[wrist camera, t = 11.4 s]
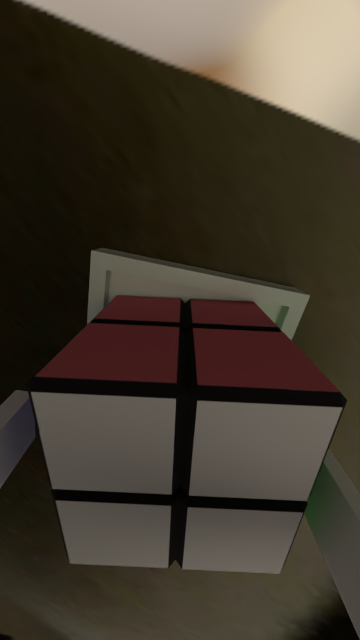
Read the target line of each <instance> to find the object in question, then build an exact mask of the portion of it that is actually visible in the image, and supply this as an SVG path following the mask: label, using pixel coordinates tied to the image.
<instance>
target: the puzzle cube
mask: <svg viewBox="0 0 360 640" xmlns="http://www.w3.org/2000/svg"><path fill="white" fill-rule="evenodd" d="M26 386H27V390H28V394H29V399H30V403H31V407H32V411H33V416H34V420H35V424H36V428H37V433H38V437H39V441H40V445H41V450H42V454H43V458H44V462H45V466H46V471H47V475H48V479H49V482H50V484H51V486H52V490H51V492H52V496H53V500H54V505H55V509H56V513H57V517H58V521H59V526H60V530H61V534H62V538H63V543H64V547H65V551H66V555H67V557H68V560H69V563H70V564H84V565H105V566H127V567H148V568H169V567H170V565H171V564H172V563H173V562H174V560H175V559H176V561H177V562H178V564H179V565H180V567H181V568H182V569H191V570H213V571H234V572H256V573H277V574H280V573H281V571H282V568H283V566H284V564H285V562H286V559H287V556H288V554H289V551H290V549H291V546H292V543H293V541H294V538H295V536H296V533H297V531H298V528H299V525H300V523H301V520H302V518H303V515H304V512H305V510H306V507H307V505H308V503H307V501H308V499H309V497H310V495H311V493H312V490H313V488H314V485H315V482H316V480H317V477H318V475H319V472H320V469H321V467H322V464H323V462H324V459H325V457H326V454H327V451H328V449H329V446H330V444H331V441H332V438H333V436H334V433H335V431H336V428H337V425H338V423H339V420H340V418H341V415H342V412H343V410H344V407H345V405H346V402H347V400H346V398H345V397H344V396H343V395H342V394H341V392H340V391H339V390H338V389H337V388H336V387H335V386H334V385H333V384H332V383H331V382H330V381H329V380H328V379H327V378H326V376H325V375H324V374H323V373H322V372H321V371H320V370H319V369H318V368H317V367H316V366H315V365H314V364H313V363H312V362H311V361H310V360H309V359H308V358H307V357H306V355H305V354H304V353H303V352H302V351H301V350H300V349H299V348H298V347H297V346H296V345H295V344H294V343H293V342H292V341H291V340H290V339H289V338H288V337H287V336H286V334H285V333H284V332H282V331H281V329H280V328H279V327H278V326H277V325H276V324H275V323H274V322H273V321H272V320H271V319H270V318H269V317H268V316H267V315H266V314H265V313H264V312H263V311H262V309H261V308H260V307H259V306H258V305H257V304H256V303H255V302H246V301H224V300H202V299H190V300H188V301H187V302H186V303H185V302H184V301H183V300H182V299H180V298H158V297H136V296H116V297H115V298H114V299H113V300H112V301H111V302H110V303H109V304H108V305H107V306H106V307H105V308H104V309H103V310H102V311H101V312H100V313H99V314H98V315H97V316H96V317H95V318H93V319H92V320H91V321H90V322H89V323H88V324H87V325H86V326H85V327H84V328H83V329H82V330H81V331H80V332H79V333H78V334H77V335H76V336H75V337H74V338H73V339H72V340H71V341H70V342H69V343H68V344H67V345H66V346H65V347H64V348H63V349H62V350H61V351H60V352H58V353H57V354H56V355H55V356H54V357H53V358H52V359H51V360H50V361H49V362H48V363H47V364H46V365H45V366H44V367H43V368H42V369H41V370H40V371H39V372H38V373H37V374H36V375H35V376H34V377H33V378H32V379H31V380H30V381H29V382H28V383H27V384H26Z"/></svg>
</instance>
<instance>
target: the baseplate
mask: <svg viewBox="0 0 360 640" xmlns="http://www.w3.org/2000/svg"><path fill="white" fill-rule="evenodd" d="M116 296H136V297H158V298H180V299H182V300H183V301H184V302H185V303H186V302H187V301H188V300H190V299H202V300H224V301H246V302H255V303H256V304H257V305H258V306H259V307H260V308H261V309H262V311H263V312H264V313H265V314H266V315H267V316H268V317H269V318H270V319H271V320H272V321H273V322H274V323H275V324H276V325H277V326H278V327H279V328H280V329H281V331H282V332H284V333H285V334H286V336H287V337H288V338H289V339H290V340H292V338H293V335H294V333H295V331H296V328H297V326H298V323H299V321H300V319H301V316H302V314H303V311H304V309H305V307H306V304H307V302H308V300H309V297H310V295H308V294H306V293H304V292H303V291H301V290H299V289H297V288H295V287H290V286H285V285H280V284H276V283H271V282H266V281H261V280H256V279H251V278H247V277H242V276H237V275H232V274H227V273H223V272H218V271H213V270H208V269H203V268H198V267H194V266H189V265H184V264H179V263H174V262H169V261H165V260H160V259H155V258H150V257H145V256H140V255H136V254H131V253H126V252H121V251H116V250H111V249H107V248H100V249H95V250H91V264H90V281H89V298H88V315H87V324H88V323H89V322H90V321H91V320H92V319H93V318H95V317H96V316H97V315H98V314H99V313H100V312H101V311H102V310H103V309H104V308H105V307H106V306H107V305H108V304H109V303H110V302H111V301H112V300H113V299H114V298H115V297H116Z"/></svg>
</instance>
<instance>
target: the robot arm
mask: <svg viewBox="0 0 360 640" xmlns="http://www.w3.org/2000/svg"><path fill="white" fill-rule="evenodd" d="M34 438H35V420H34V416H33V411H32V407H31V403H30V399H29V394H28V392H26V391H20V390H16V391H15V392H14V393H13V394H12V395H11V396H9V397H8V398H7V399H6V400H5V401H4V402H3V403H2V404H1V405H0V488H1V486H2V485H3V483H4V482H5V481H6V479H7V478H8V476H9V475H10V473H11V472H12V470H13V469H14V467H15V466H16V465H17V463H18V462H19V460H20V459H21V457H22V456H23V454H24V453H25V451H26V450H27V449H28V447H29V446H30V444H31V443H32V441H33V440H34ZM307 503H308V505H307V507H306V510H305V512H304V514H305V516H306V518H307V521H308V523H309V525H310V527H311V530H312V532H313V534H314V536H315V539H316V541H317V543H318V546H319V548H320V550H321V552H322V555H323V557H324V559H325V562H326V564H327V566H328V568H329V571H330V573H331V575H332V578H333V580H334V582H335V584H336V587H337V589H338V591H339V593H340V596H341V598H342V600H343V603H344V605H345V607H346V609H347V612H348V614H349V616H350V619H351V621H352V623H353V625H354V628H355V630H356V632H357V635H358V637H359V639H360V494H359V492H358V491H357V489H356V488H355V486H354V485H353V483H352V482H351V480H350V479H349V477H348V476H347V474H346V473H345V471H344V470H343V469H342V467H341V466H340V464H339V463H338V461H337V460H336V458H335V457H334V455H333V454H332V452H331V451H330V449H328V451H327V454H326V457H325V459H324V462H323V464H322V467H321V469H320V472H319V475H318V477H317V480H316V482H315V485H314V488H313V490H312V493H311V495H310V497H309V499H308V501H307Z"/></svg>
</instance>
